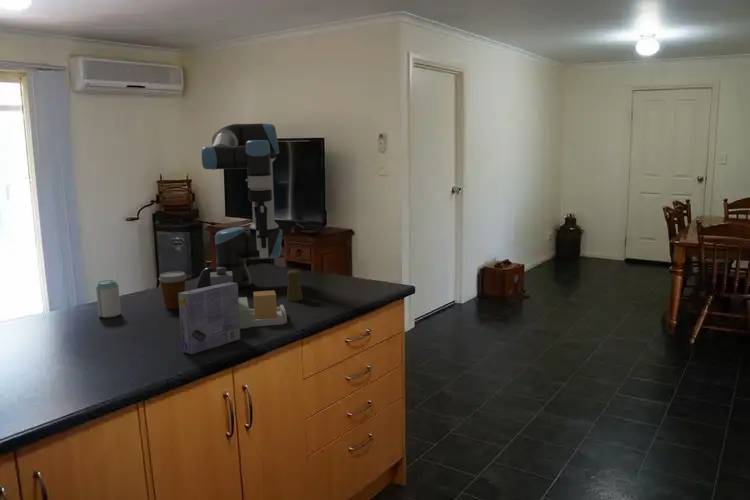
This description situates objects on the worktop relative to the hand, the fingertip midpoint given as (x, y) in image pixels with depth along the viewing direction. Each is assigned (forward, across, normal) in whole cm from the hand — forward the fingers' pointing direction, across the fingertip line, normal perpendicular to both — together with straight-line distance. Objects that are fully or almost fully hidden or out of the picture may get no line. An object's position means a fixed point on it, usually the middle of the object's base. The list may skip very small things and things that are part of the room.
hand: (262, 253), depth 208 cm
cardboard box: (+21, 0, 0) cm, 21 cm away
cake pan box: (+22, +22, -17) cm, 36 cm away
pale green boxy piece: (+22, 0, -6) cm, 23 cm away
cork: (+23, -23, +12) cm, 35 cm away
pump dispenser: (+23, -18, -18) cm, 34 cm away
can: (+23, -19, -52) cm, 59 cm away
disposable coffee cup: (+23, -25, -30) cm, 45 cm away
